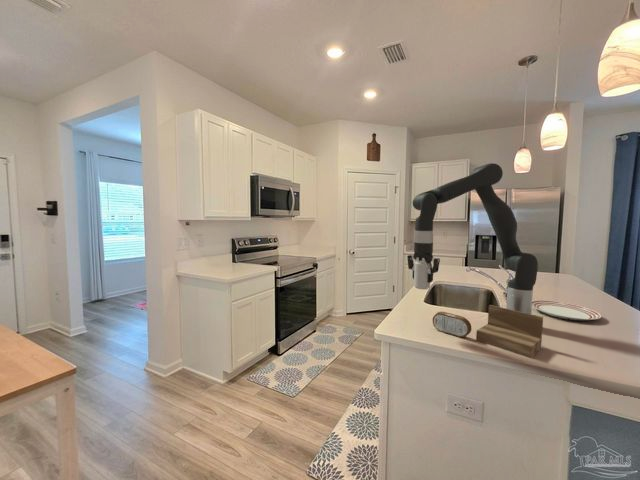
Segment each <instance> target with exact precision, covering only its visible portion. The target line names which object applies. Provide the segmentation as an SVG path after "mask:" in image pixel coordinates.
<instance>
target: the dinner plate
mask: <svg viewBox="0 0 640 480" xmlns="http://www.w3.org/2000/svg"><path fill="white" fill-rule="evenodd" d="M532 308H534V309H536V310H538V311H539V312H541V313H543V314H545V315H548V316H550V317H554V318H557V317H558V318H557V319H562V318H563V320H568V319H570V320H569V321H591V320H600V319H601V318H602V316H603V315H602V314H600V313H599V312H598V311H596V310H593V309H591V308H588V307H584V306H581V305H577V304H572V303H567V302H563V301H556V300H550V299H549V300H548V299H536V300H535V299H534V300H532Z"/></svg>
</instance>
